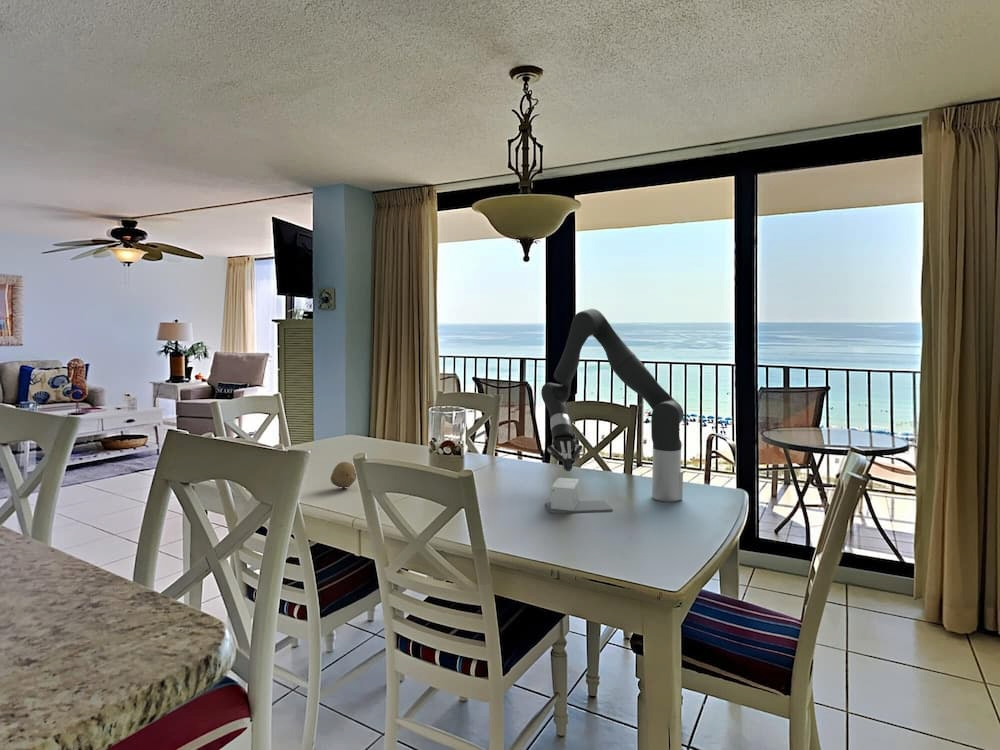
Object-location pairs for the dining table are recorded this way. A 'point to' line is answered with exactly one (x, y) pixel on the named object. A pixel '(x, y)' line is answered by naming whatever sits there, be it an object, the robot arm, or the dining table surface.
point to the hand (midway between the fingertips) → (568, 470)
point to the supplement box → (565, 494)
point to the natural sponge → (343, 475)
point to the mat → (584, 507)
